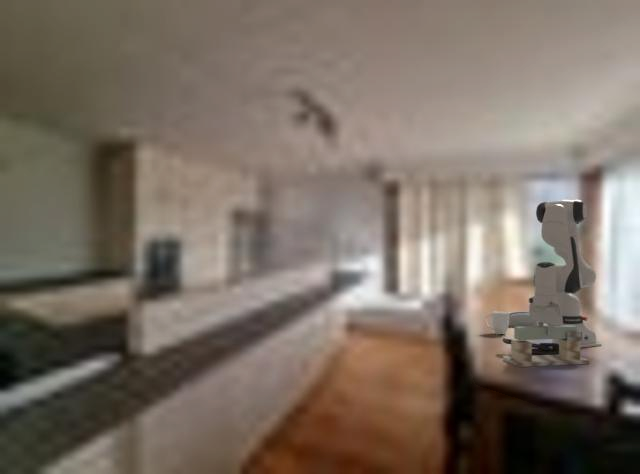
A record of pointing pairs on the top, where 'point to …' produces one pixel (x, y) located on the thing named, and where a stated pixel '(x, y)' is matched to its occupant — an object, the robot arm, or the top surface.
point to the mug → (499, 321)
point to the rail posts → (566, 356)
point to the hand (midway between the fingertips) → (545, 333)
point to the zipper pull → (541, 348)
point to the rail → (542, 332)
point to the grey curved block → (521, 319)
